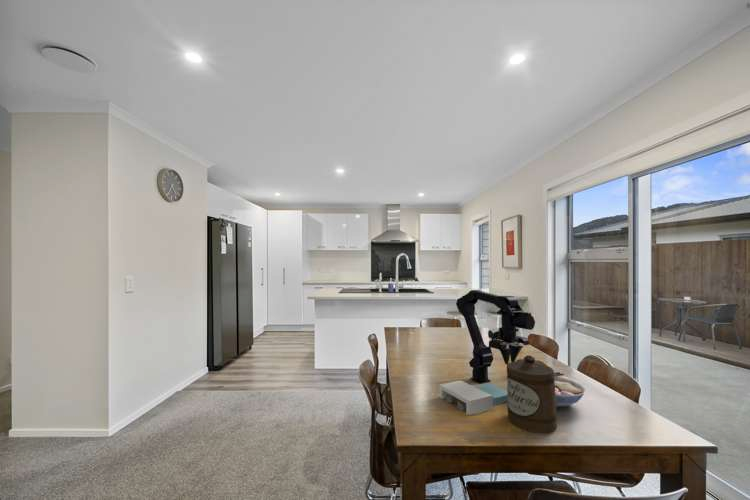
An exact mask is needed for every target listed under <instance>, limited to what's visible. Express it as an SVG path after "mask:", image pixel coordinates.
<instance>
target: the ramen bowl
mask: <svg viewBox="0 0 750 500" xmlns="http://www.w3.org/2000/svg"><path fill="white" fill-rule="evenodd" d="M562 376H565V374H564V373H561V372H560V371H556V372H554V382H555V396H556V408H559V407H567V406H571V405H574V404H577V403H578V402H579V401H580V400H581V399H582V397H583V396H584V394H585V392H586V390H587V389H586V388H585V386H584V385H582V384H581V383H579V382H577V381H574V380H572V379H569V378H566V377H562Z"/></svg>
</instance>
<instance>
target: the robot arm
mask: <svg viewBox="0 0 750 500" xmlns="http://www.w3.org/2000/svg"><path fill="white" fill-rule="evenodd" d="M478 301H482V302H485V303H488V304H492V305H494V306H495V307H496V308H498V309H499V310H497V312H496V314H497V315H500V317H501V318H500V319H501V323H500V324H501V327H500V326H499V328H498V330H497V331H495V330H494V329H490V330H488V332H487V337H488V339H490V340H489V342H488V346H487V345H486V344H485V342H484V339H483V337H482V333H481V330H480V328H479V323H478V321H477V318H476V316H475V311H476V306H475V305H476V304H477V303H478ZM455 304H456V308H457V310H458V312H459V313H460V314H461V315H462V316H463V318H464V321H465V324H466V327H467V329H468V333H469V336H470V339H471V342H472V345H473V348H472V356H473V357H472V359H470V360H469V362H468V363H469V367H470V368H472V370H471V371H472V372H471V373H472V377H470V380H472V381H474V382H476V383H478V384H483V383H489V382H491V379H489V373H488V372H489V370H488V369H489V368H490V367H491V366H492V364H493V361H494V353H493V352H492V349H495V350H499V351H500V354H501V356H502V359H503V362H504V364H505V365H507V364H508V363H510V362H515V361H516V360H517V357H518V356H519V354H520V352H521V351H522V349H523V348H524V346H530V340H529V339H528V337H526V336H525V337H524V336H520V335H517V332H519V329H523V330H528V331H529V330H530V331H532V330H533V329H534V328H535V324H536V320H535V318H534V316H533V315H532V312H530V311H528V312H527V311H524V309H523V308H522V306H521V305H520V303H519V301H518V299H517V297H516V296H514V295H498V294H494V293H491V292H490V293H489V292H485V291H482V290H479V289H471V290H469V292H467V293H465V294H464V295H462V296H460V297H459V298H458V299H456V302H455ZM521 344H523V345H521ZM509 361H510V362H509Z"/></svg>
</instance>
